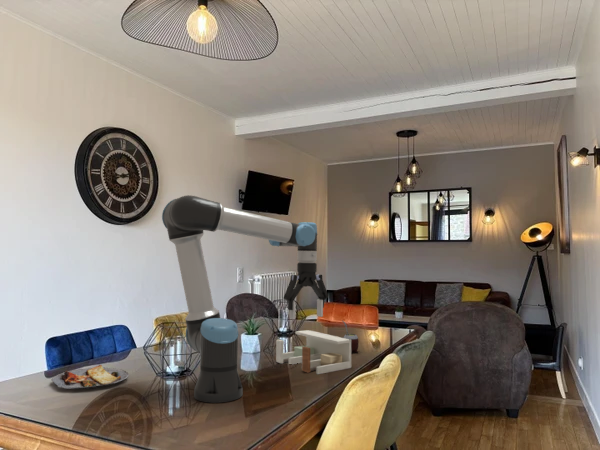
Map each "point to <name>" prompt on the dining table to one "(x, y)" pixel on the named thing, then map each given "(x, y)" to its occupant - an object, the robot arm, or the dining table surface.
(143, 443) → the dining table surface
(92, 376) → the food plate
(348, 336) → the mate gourd
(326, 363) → the birch block
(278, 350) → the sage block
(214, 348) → the robot arm
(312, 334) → the lane rack
